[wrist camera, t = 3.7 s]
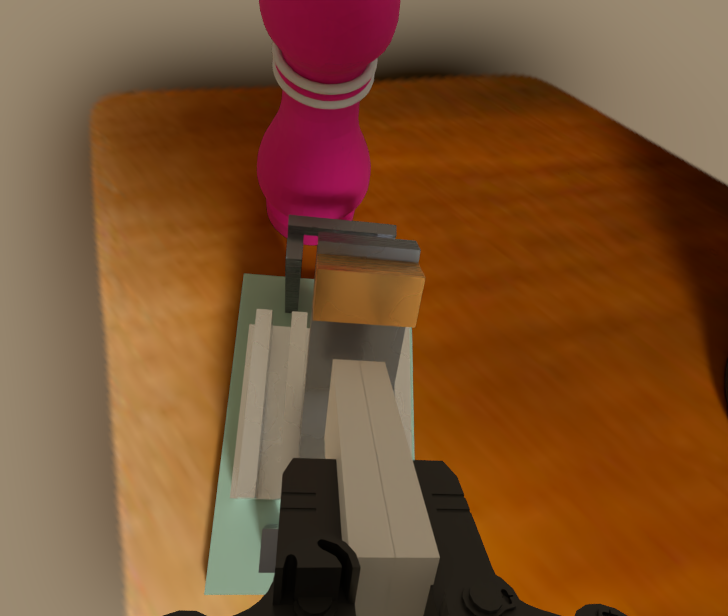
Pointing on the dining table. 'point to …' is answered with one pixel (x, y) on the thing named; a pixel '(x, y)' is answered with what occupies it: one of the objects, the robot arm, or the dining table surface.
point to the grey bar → (356, 316)
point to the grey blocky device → (289, 382)
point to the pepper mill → (320, 105)
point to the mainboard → (234, 516)
